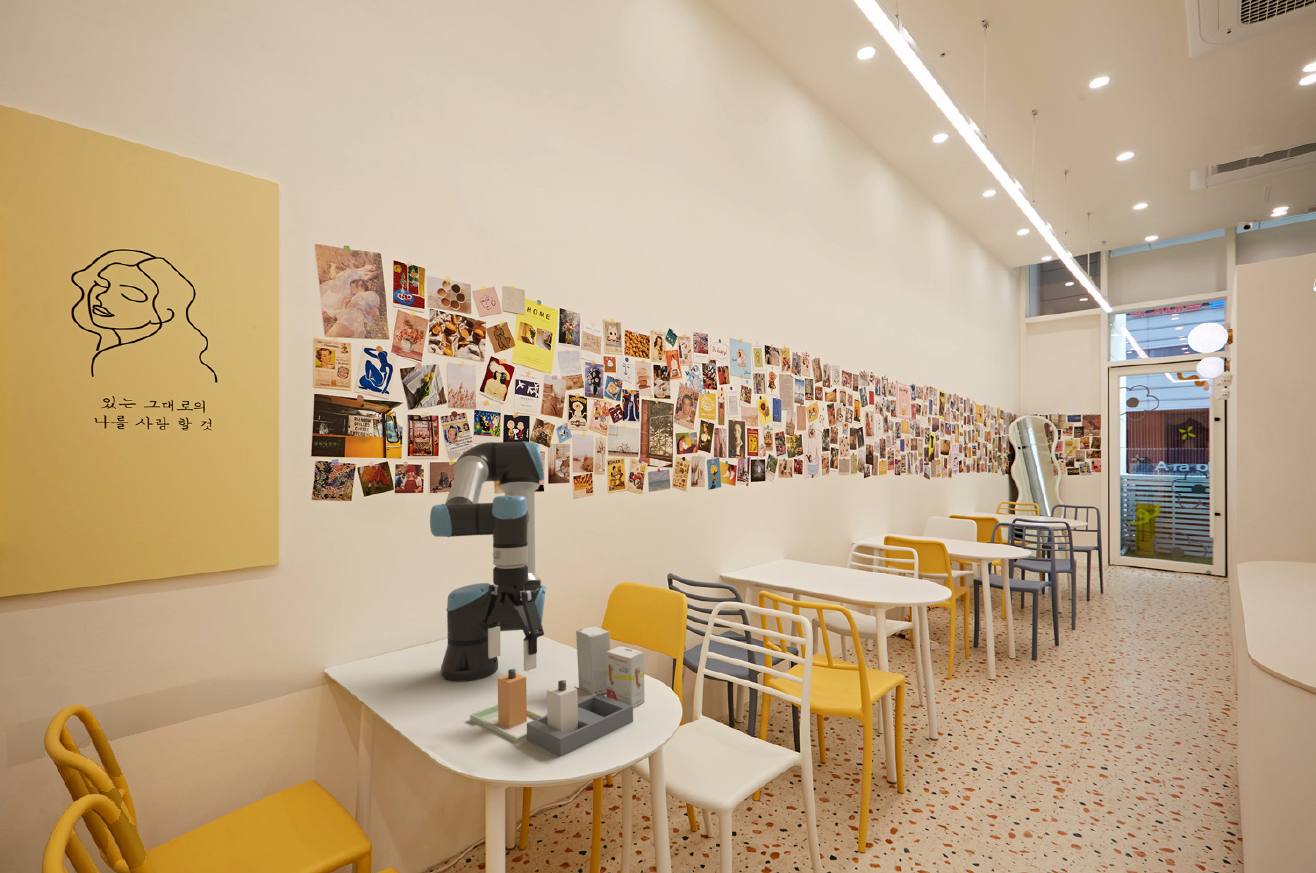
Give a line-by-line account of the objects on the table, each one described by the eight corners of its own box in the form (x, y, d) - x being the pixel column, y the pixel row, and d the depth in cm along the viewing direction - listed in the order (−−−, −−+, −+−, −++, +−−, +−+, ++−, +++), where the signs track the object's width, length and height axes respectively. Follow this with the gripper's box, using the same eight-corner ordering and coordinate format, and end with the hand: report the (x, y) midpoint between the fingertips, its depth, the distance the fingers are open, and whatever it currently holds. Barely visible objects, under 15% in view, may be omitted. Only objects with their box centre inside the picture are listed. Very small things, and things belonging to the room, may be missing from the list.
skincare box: (613, 692, 150) (612, 632, 150) (591, 698, 146) (590, 636, 147) (597, 682, 157) (596, 624, 157) (576, 687, 153) (575, 628, 154)
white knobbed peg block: (547, 739, 124) (546, 682, 124) (564, 731, 127) (563, 676, 127) (561, 746, 121) (560, 687, 121) (578, 738, 124) (577, 681, 124)
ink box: (605, 700, 145) (604, 650, 146) (620, 693, 149) (619, 645, 149) (631, 709, 140) (630, 657, 140) (645, 702, 143) (644, 652, 144)
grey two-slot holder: (526, 743, 124) (526, 723, 124) (599, 711, 139) (598, 693, 139) (560, 760, 116) (560, 739, 117) (633, 724, 131) (632, 706, 131)
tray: (470, 721, 135) (470, 714, 135) (508, 707, 142) (508, 700, 142) (517, 745, 123) (517, 738, 123) (556, 728, 130) (556, 721, 130)
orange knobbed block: (498, 724, 132) (497, 670, 133) (515, 717, 136) (514, 665, 136) (509, 730, 129) (509, 675, 130) (526, 723, 133) (526, 669, 133)
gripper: (465, 562, 139) (466, 655, 138) (530, 573, 122) (531, 680, 121) (493, 558, 145) (494, 648, 144) (559, 568, 128) (561, 670, 127)
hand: (511, 662), depth 133 cm, fingers open, 13 cm apart
